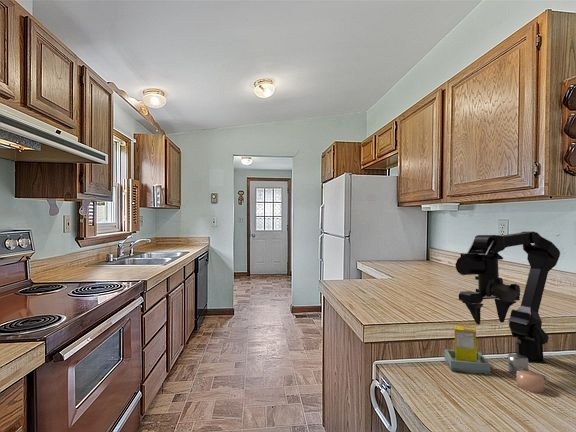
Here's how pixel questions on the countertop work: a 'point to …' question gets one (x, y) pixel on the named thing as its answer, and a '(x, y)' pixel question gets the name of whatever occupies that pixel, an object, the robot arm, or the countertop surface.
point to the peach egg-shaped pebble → (530, 381)
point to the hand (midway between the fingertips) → (490, 323)
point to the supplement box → (465, 343)
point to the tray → (467, 363)
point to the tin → (517, 363)
